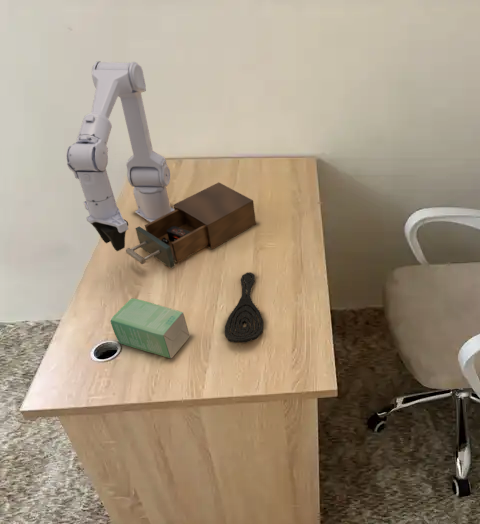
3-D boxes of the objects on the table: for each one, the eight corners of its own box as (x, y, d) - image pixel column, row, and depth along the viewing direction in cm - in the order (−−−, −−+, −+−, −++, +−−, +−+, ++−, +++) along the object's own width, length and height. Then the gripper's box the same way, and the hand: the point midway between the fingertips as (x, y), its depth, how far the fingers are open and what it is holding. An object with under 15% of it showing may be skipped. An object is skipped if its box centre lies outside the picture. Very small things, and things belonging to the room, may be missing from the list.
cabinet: (212, 249, 148) (207, 225, 144) (178, 228, 156) (173, 204, 151) (256, 224, 157) (253, 200, 153) (222, 205, 165) (218, 182, 160)
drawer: (151, 279, 138) (146, 259, 134) (121, 257, 144) (115, 237, 141) (217, 242, 150) (213, 222, 146) (186, 223, 156) (182, 204, 152)
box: (138, 320, 128) (130, 295, 123) (190, 336, 124) (184, 311, 120) (117, 343, 123) (107, 318, 118) (171, 360, 119) (164, 335, 114)
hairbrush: (265, 264, 139) (260, 335, 119) (266, 277, 141) (262, 348, 121) (230, 266, 139) (220, 338, 118) (232, 278, 141) (222, 351, 120)
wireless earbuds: (173, 234, 150) (170, 224, 148) (194, 242, 148) (192, 232, 146) (160, 244, 147) (157, 233, 145) (182, 252, 145) (179, 241, 142)
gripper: (64, 190, 126) (82, 240, 135) (100, 214, 119) (116, 266, 127) (94, 178, 130) (109, 227, 139) (130, 200, 123) (144, 251, 132)
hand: (114, 244), depth 133 cm, fingers open, 4 cm apart
